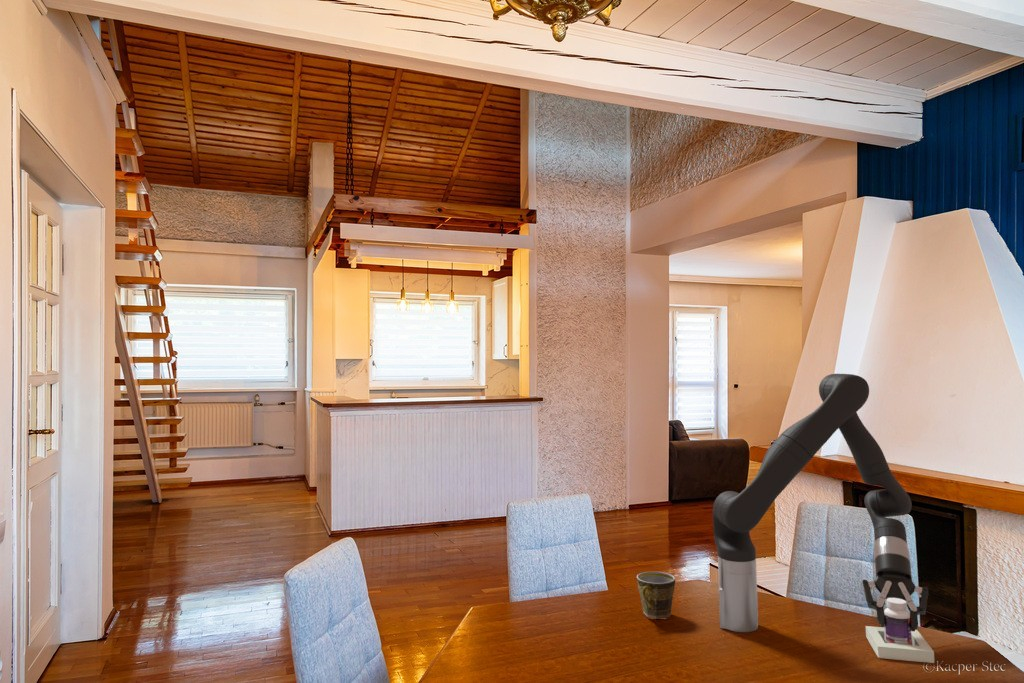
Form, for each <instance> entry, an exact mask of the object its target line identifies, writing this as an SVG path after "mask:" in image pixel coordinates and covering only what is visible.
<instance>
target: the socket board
mask: <svg viewBox="0 0 1024 683" xmlns="http://www.w3.org/2000/svg"><path fill="white" fill-rule="evenodd" d="M865 637H866V638H867V640H868V642H869V644H870V646H871V648H872V649H873V651H874V653H875V654H876V656H877V658H878V659H886V660H887V659H888V660H896V661H897V660H898V661H908V662H920V663H930V664H935V651H934V649H932V647H931V646H930V645H929V643H928V641H926V639H925V638H924V637H923V635H922V634H921V633H920V632H919V630H918V629H915V631H911V639H912V644H911V645H904V644H893V643H886V641H885V636H884V627H881V626H871V625H870V626H868V625H865Z"/></svg>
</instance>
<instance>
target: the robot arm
mask: <svg viewBox="0 0 1024 683" xmlns="http://www.w3.org/2000/svg"><path fill="white" fill-rule="evenodd" d="M818 385H819V386H818V393H819V394H818V395H819V397H820V399H821V401H822V403H821V404H820V405H819V406H818V407H817V408H816V409H815V410H814V411H812V412H811V413H809V414H808V415H806V416H805V417H803V418H802V419H801V418H800V420H798V421H796V422H795V423H793V424H792V425H790V426H789V427H787V428H786V429H785V430H784V431H783V432H782V433H781V434H780V435H779V436H778V437H777V438H776V440H774V442H772V443H771V445H770V446H769V447H768V449H767V451H766V452H765V455H764V457H763V460H762V462H761V465H760V468H759V469H758V472H757V474H756V476H755V477H754V478H753V479H752V480H751V482H750V483H749V484H748V485H747V486H746V487H745V488H744V489H743V490H742V491H741V492H737V491H734V490H726V491H723V492H721V493H719V495H718V496H716V498H715V500H714V503H713V507H712V522H713V524H712V525H713V536H714V543H715V547H716V550H717V567H718V568H717V569H718V570H717V571H718V572H717V573H718V606H719V610H718V611H719V612H718V614H719V629H726V630H728V631H731V632H736V633H751V632H754V631H757V630H758V628H759V611H758V609H759V608H758V581H757V580H758V577H757V552H756V551H757V549H756V546H755V544H754V543H753V541H752V539H751V536H750V531H752V530H753V529H755V527H757V525H758V524H759V523H760V521H761V520H762V518H764V516H765V514H767V511H768V510H769V508H771V506H772V504H773V503H774V502H775V500H776V499H777V498H778V497H779V495H780V494H781V493H782V492H783V491H784V490H785V489H786V488H787V486H788V485H789V484H790V483H792V481H793V480H794V479H795V477H796V476H798V474H799V473H800V472H801V471H803V469H804V468H805V467H806V466H807V465H808V463H809V462H810V461H811V460H812V458H814V456H815V455H816V454H817V452H818V451H819V450H820V449H821V448H822V447H823V446H824V445H826V443H827V441H829V440H830V438H831V437H832V436H833V435H834V434H835V432H837V430H839V431H840V433H841V435H842V437H843V438H844V441H845V442H846V444H847V447H848V448H849V451H850V454H851V455H852V458H853V459H854V462H855V466H856V467H857V470H858V472H859V475H860V477H861V479H862V481H863V482H864V483H865V484H866V485H869V486H879V487H882V488H883V489H876V490H875V489H874V490H870V491H868V492H867V493H866V494H865V496H864V499H863V500H864V501H863V502H864V506H865V509H866V511H867V513H868V515H869V518H870V520H871V524H872V526H873V533H874V534H873V535H874V549H873V550H874V551H873V552H874V557H873V558H874V566H875V568H874V569H875V578H874V580H873V581H869V580H867V579H862V580H861V582H862V589H863V594H864V596H865V597H864V598H865V600H866V604H867V607H868V608H869V609H874V610H875V611H876V620H877V621H876V622H877V624H878V625H880V627H885V622H884V609H885V606H886V605H887V604H886V601H887V598H899V599H903V600H905V601H906V605H907V607H906V609H907V611H908V612H909V613H910V618H911V631H915V630H918V628H919V620H918V616H919V615H921V616H922V615H923V616H925V615H926V613H927V604H928V596H929V587H928V586H922V587H921V586H918V585H916V584H915V583H914V582H913V577H912V576H913V575H912V567H911V558H910V557H911V556H910V550H909V548H908V541H907V529H906V527H905V524H904V523H903V522H902V521H900V520H899V519H897V518H892V517H899V516H905V515H908V514H909V513H910V512H911V510H912V507H913V506H912V500H911V497H910V496H909V494H908V493H907V491H906V489H904V487H903V486H902V485H901V484H900V483H899V481H898V480H897V479H896V477H895V476H894V475H893V474H894V473H892V471H891V469H890V466H889V464H888V461H887V459H886V456H885V455H884V452H883V449H882V448H881V446H880V444H879V443H878V442H877V441H876V439H875V438H874V436H873V435H872V434H871V432H870V431H869V430H868V429H867V427H866V426H865V425H864V424H863V421H862V420H861V419H860V416H859V414H858V411H859V410H860V409H861V408H863V406H864V405H865V404H866V402H867V401H868V398H869V395H870V386H869V383H868V382H867V380H866V379H865V378H863V377H862V376H859V375H857V374H850V373H831V374H828V375H826V376H825V377H823V378H822V379H821V381H820V383H819V384H818ZM874 588H875V589H876V590H877V591H878V592H879V593H880V594H879V598H878V600H877V601H875V600H874V598H873V594H872V592H873V590H874ZM914 592H916V594H917V596H918V597H919V598H920V604H919V606H916V605H915V603H914V600H913V598H912V596H913V593H914Z"/></svg>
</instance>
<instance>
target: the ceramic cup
mask: <svg viewBox="0 0 1024 683" xmlns="http://www.w3.org/2000/svg"><path fill="white" fill-rule="evenodd" d="M636 581H637V587H638V588H637V589H638V592H639V596H640V602H641V607H642V611H643V615H644V614H645V615H646V616H647V617H651V618H656V619H661V618H667V617H668V618H670V616H671V612H672V605H673V598H674V594H675V586H676V577H675V576H674V575H672V574H670V573H668V572H664V571H663V572H662V571H645V572H640V573H638V574H637V575H636ZM645 615H644V616H645ZM646 616H645V617H646ZM647 617H646V618H647ZM668 618H667V619H668Z"/></svg>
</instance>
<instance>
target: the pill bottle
mask: <svg viewBox="0 0 1024 683" xmlns="http://www.w3.org/2000/svg"><path fill="white" fill-rule="evenodd" d="M885 605H886V607H884V622H885V627H884V636H885V641H886V642H885V643H893V644H904V645H911V644H912V639H911V618H910V612H909V610H908V609H907V605H906V601H905V600H903V599H899V598H887V601H886V604H885Z"/></svg>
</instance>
